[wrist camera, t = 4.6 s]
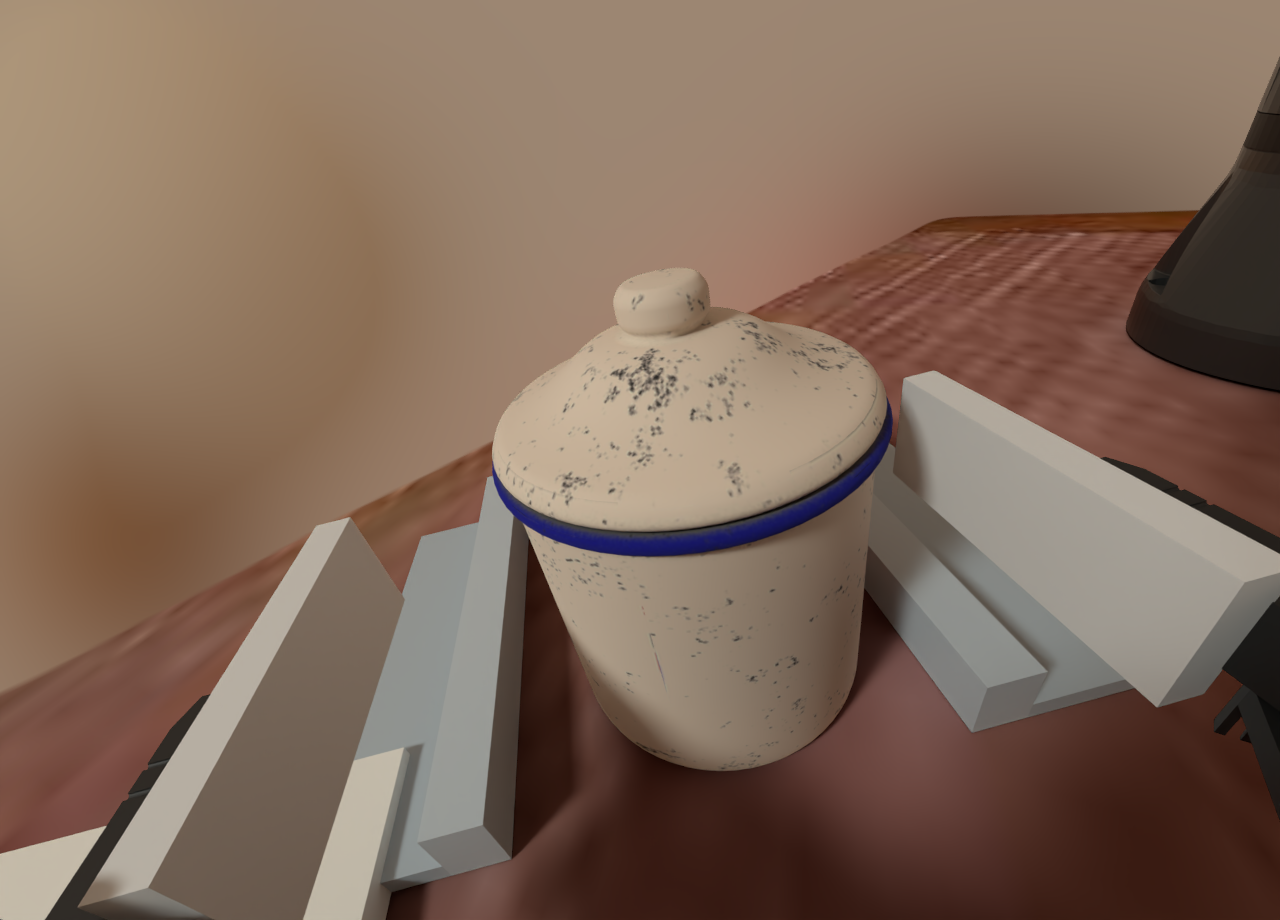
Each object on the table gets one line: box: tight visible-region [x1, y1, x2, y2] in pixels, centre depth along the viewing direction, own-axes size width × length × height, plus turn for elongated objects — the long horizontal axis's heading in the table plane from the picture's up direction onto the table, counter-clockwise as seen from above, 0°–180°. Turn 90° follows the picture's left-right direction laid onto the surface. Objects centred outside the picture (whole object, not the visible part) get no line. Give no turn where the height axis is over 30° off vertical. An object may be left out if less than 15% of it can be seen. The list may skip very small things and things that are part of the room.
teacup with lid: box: [492, 268, 893, 771], centre depth 14 cm, size 12×9×12 cm
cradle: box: [354, 443, 1134, 892], centre depth 18 cm, size 22×15×2 cm
